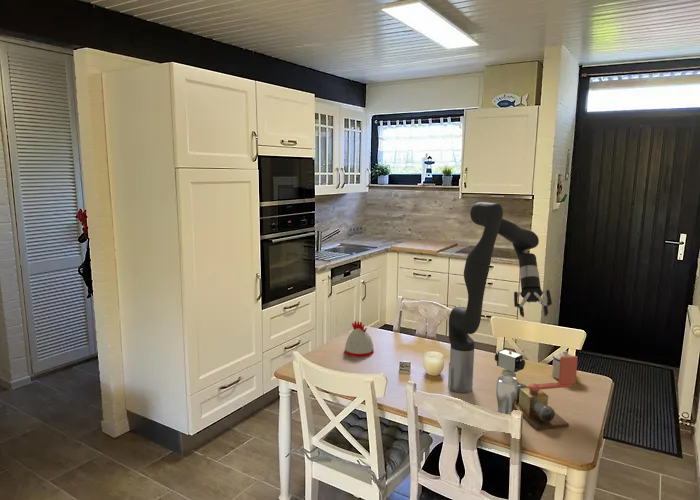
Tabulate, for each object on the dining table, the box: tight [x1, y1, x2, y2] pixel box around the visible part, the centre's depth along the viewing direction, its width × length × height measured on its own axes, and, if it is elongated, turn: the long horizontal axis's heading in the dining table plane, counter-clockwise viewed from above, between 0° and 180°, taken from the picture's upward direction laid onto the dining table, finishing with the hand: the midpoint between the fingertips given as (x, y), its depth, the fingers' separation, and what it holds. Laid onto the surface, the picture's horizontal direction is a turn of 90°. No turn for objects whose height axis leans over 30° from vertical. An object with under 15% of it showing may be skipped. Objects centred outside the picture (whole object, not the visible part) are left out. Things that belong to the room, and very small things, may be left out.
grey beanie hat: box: [344, 320, 375, 358], centre depth 231 cm, size 14×14×15 cm
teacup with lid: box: [551, 350, 574, 381], centre depth 205 cm, size 12×9×12 cm
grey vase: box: [495, 375, 519, 414], centre depth 168 cm, size 7×7×15 cm
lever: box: [528, 355, 579, 392], centre depth 173 cm, size 18×4×11 cm, turn 100°
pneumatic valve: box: [494, 349, 526, 379], centre depth 203 cm, size 6×12×12 cm, turn 40°
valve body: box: [514, 383, 570, 431], centre depth 174 cm, size 22×12×9 cm, turn 10°
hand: (534, 316), depth 195 cm, fingers open, 8 cm apart
